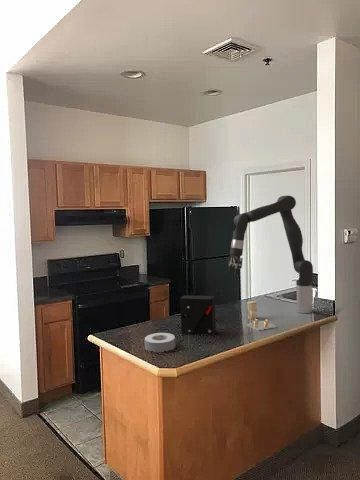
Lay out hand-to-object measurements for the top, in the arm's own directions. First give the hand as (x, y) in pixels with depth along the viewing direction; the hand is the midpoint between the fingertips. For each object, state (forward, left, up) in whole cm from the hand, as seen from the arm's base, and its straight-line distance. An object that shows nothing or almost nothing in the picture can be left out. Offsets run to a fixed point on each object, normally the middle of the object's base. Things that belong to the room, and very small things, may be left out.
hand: (233, 273), depth 245 cm
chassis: (+7, +21, -28) cm, 36 cm away
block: (-6, +9, -28) cm, 30 cm away
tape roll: (+62, -8, -28) cm, 69 cm away
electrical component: (+33, -4, -28) cm, 44 cm away
